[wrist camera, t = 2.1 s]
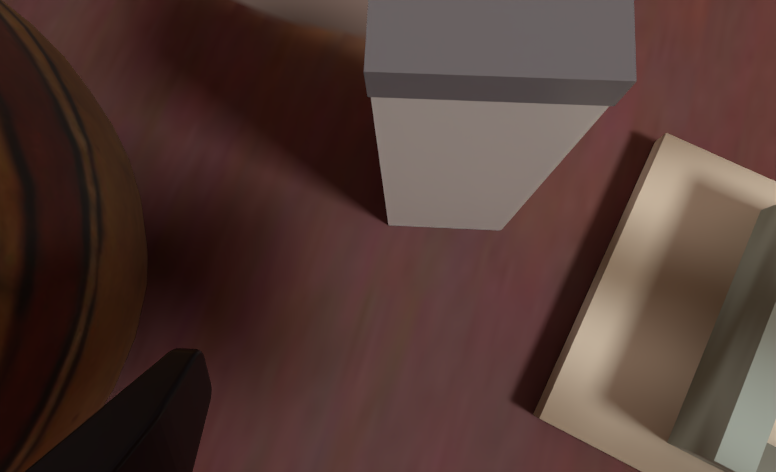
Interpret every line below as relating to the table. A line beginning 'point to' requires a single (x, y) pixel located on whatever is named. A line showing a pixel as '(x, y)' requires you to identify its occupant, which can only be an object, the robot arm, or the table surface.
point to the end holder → (679, 324)
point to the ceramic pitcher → (60, 248)
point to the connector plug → (487, 98)
